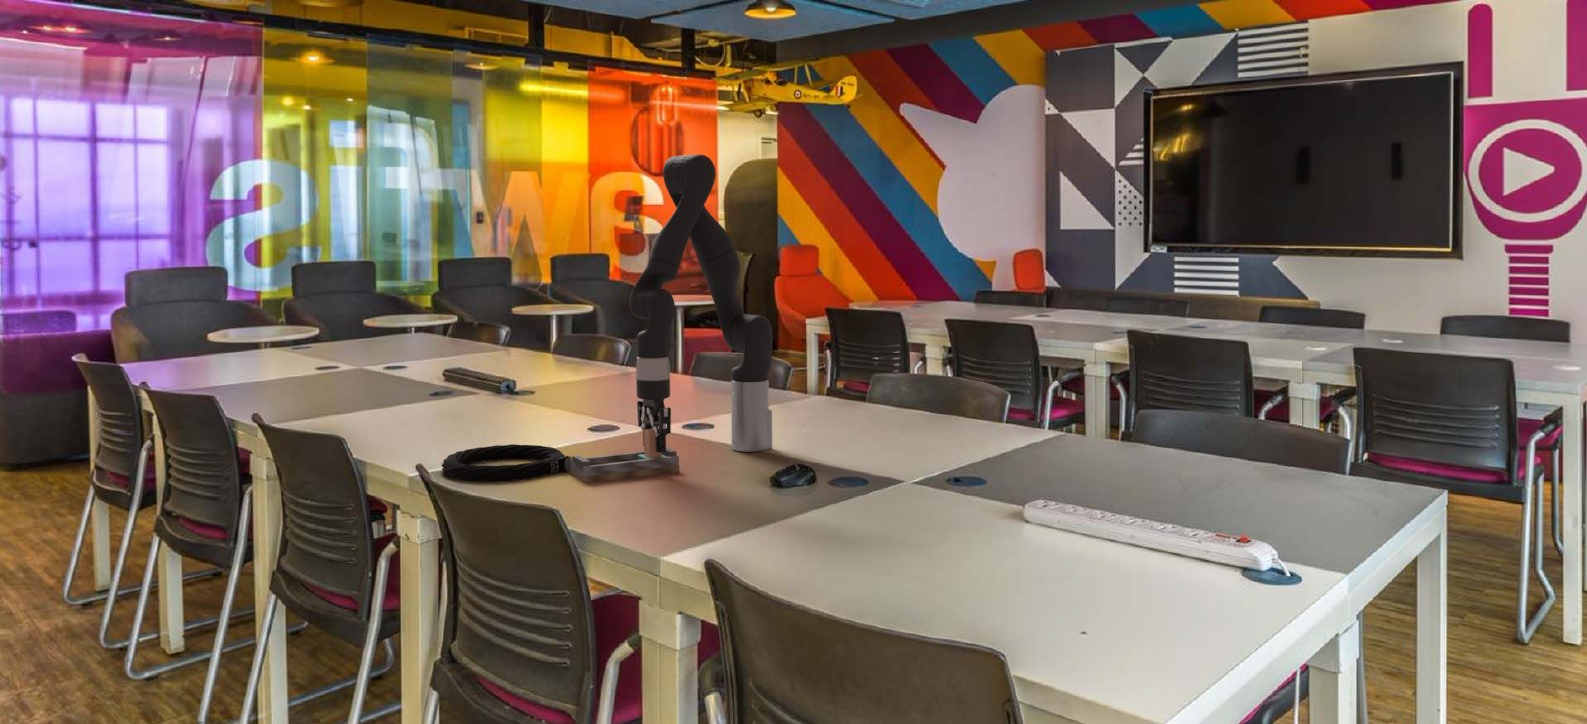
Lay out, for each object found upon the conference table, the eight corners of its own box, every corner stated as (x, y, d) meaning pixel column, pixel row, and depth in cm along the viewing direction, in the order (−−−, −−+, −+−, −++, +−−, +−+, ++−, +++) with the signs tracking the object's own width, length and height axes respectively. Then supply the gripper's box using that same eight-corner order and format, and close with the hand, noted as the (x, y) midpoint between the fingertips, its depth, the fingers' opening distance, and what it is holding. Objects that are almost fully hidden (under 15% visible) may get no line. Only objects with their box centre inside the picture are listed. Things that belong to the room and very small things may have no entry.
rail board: (661, 463, 267) (661, 444, 266) (679, 471, 258) (679, 452, 258) (570, 474, 256) (569, 454, 255) (585, 483, 247) (585, 462, 247)
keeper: (657, 459, 264) (657, 426, 263) (669, 464, 259) (668, 431, 258) (637, 461, 262) (636, 428, 261) (648, 466, 256) (647, 433, 255)
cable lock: (476, 441, 278) (593, 444, 272) (477, 456, 279) (593, 460, 273) (417, 464, 251) (545, 469, 245) (418, 481, 252) (546, 487, 246)
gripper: (681, 379, 254) (682, 453, 256) (655, 372, 266) (657, 442, 268) (650, 381, 250) (651, 456, 252) (625, 374, 262) (627, 445, 264)
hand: (654, 449), depth 260 cm, fingers open, 6 cm apart
